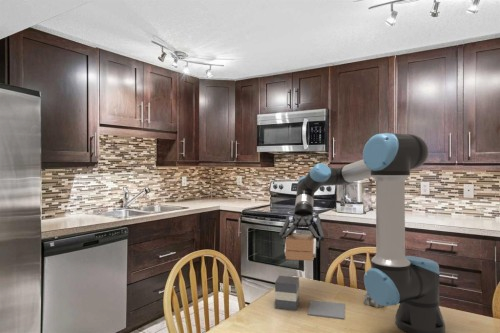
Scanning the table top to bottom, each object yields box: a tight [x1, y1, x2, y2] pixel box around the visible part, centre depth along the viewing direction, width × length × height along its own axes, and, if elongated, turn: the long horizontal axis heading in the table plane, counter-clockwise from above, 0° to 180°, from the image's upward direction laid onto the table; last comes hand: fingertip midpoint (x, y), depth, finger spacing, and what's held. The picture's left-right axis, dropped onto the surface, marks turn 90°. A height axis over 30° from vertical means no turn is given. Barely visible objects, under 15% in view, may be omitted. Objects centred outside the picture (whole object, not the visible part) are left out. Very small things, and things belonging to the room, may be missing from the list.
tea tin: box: [274, 275, 300, 312], centre depth 136 cm, size 8×8×10 cm
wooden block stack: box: [285, 233, 315, 262], centre depth 135 cm, size 10×10×8 cm
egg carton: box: [362, 292, 383, 309], centre depth 139 cm, size 11×8×4 cm
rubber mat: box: [307, 299, 346, 320], centre depth 132 cm, size 13×13×1 cm
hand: (299, 254), depth 132 cm, fingers closed on wooden block stack, 10 cm apart
